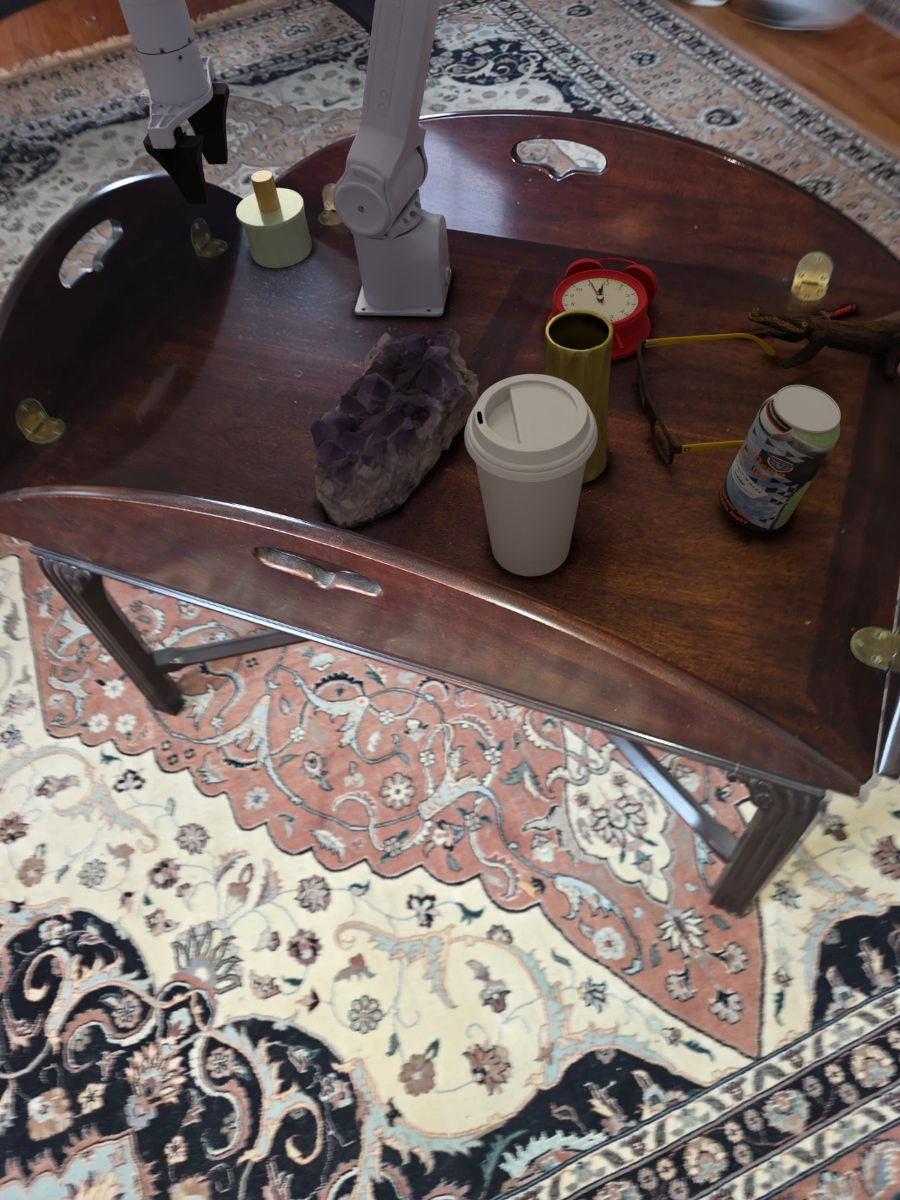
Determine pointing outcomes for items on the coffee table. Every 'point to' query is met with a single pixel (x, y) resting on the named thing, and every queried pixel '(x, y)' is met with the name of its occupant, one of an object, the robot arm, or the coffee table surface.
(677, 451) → the eyeglasses
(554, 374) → the vase
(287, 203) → the lid
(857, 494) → the coffee table surface
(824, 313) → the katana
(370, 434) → the geode
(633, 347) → the alarm clock
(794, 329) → the toy
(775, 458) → the beverage can
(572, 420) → the coffee cup
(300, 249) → the tin
